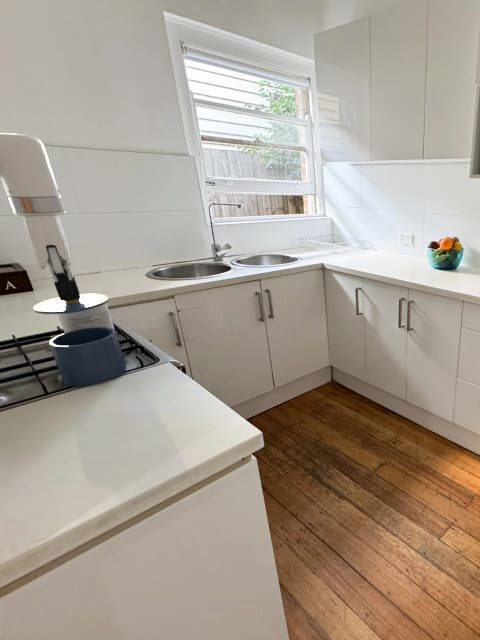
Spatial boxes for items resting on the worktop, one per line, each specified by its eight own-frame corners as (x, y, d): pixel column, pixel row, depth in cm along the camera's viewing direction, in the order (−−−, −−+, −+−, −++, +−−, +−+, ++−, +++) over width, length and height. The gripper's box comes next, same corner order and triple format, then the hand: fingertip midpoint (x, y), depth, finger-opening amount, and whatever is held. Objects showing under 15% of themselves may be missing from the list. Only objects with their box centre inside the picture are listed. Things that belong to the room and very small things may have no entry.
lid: (33, 321, 73) (20, 288, 71) (36, 305, 82) (24, 275, 79) (112, 309, 81) (103, 278, 78) (107, 295, 89) (98, 267, 87)
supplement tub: (72, 352, 98) (52, 297, 92) (117, 342, 104) (101, 290, 98) (75, 365, 91) (54, 307, 85) (123, 354, 97) (106, 299, 91)
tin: (64, 392, 81) (48, 351, 77) (63, 371, 88) (49, 334, 85) (129, 376, 87) (117, 338, 84) (123, 358, 95) (112, 323, 91)
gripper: (14, 204, 77) (47, 292, 84) (7, 210, 65) (46, 311, 73) (63, 203, 81) (91, 287, 88) (64, 209, 70) (95, 304, 77)
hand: (70, 297), depth 81 cm, fingers closed on lid, 2 cm apart
